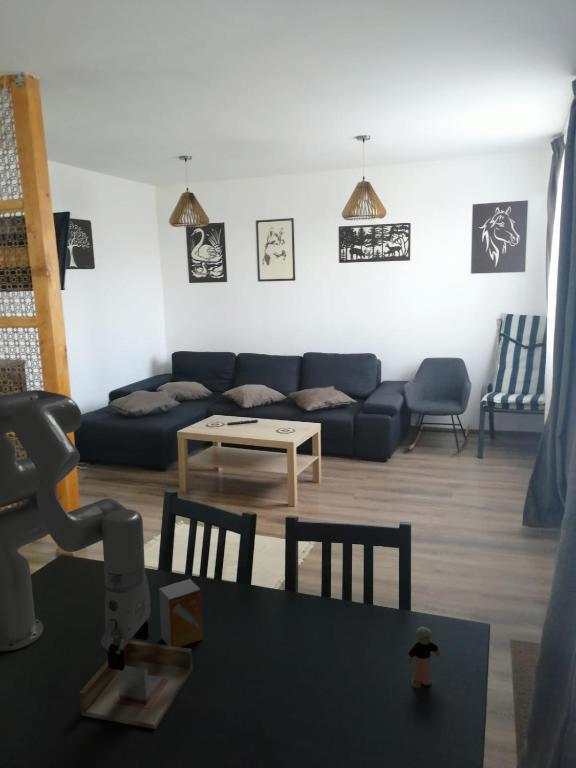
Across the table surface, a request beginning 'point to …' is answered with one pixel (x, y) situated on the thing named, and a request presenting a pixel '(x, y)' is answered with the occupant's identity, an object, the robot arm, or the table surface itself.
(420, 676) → the grandmother figurine
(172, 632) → the small box
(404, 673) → the table surface
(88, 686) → the wooden tray
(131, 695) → the bracket
